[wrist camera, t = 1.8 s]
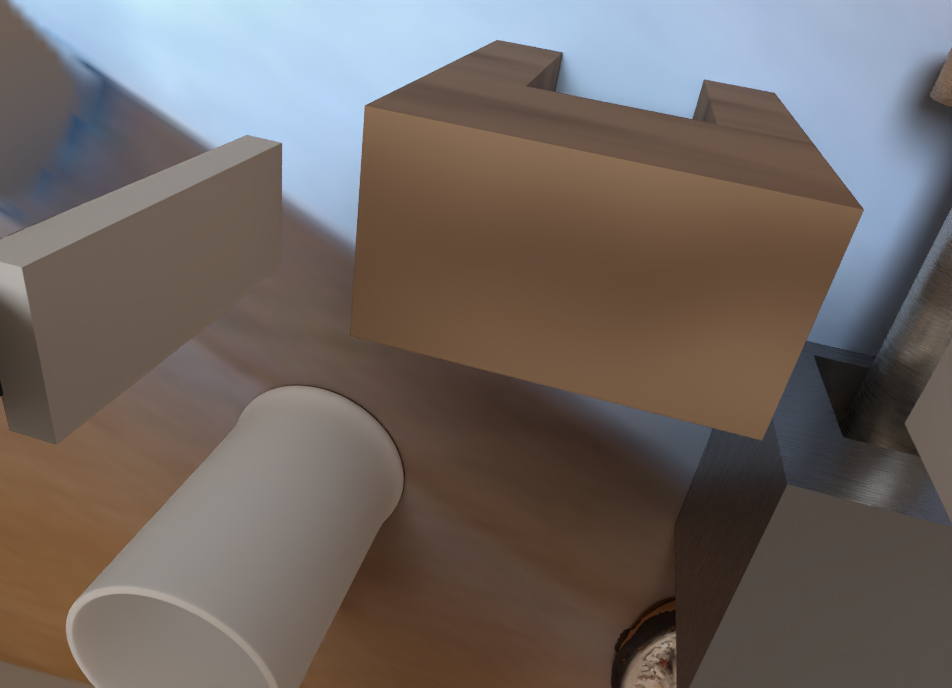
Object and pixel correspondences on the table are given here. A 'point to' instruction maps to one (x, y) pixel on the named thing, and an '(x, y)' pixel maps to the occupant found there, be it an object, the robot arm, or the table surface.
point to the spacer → (597, 237)
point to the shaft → (909, 339)
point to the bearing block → (812, 552)
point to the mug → (245, 553)
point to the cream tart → (648, 652)
